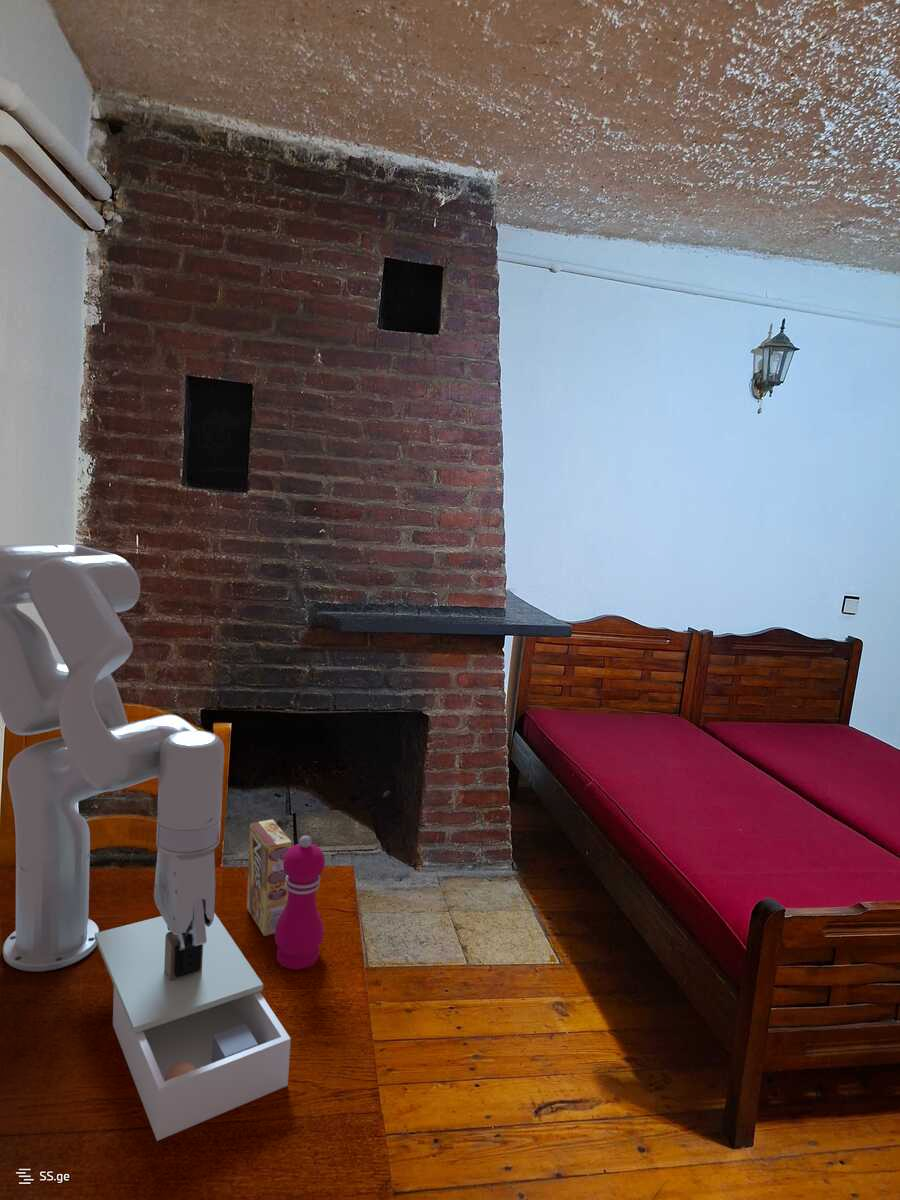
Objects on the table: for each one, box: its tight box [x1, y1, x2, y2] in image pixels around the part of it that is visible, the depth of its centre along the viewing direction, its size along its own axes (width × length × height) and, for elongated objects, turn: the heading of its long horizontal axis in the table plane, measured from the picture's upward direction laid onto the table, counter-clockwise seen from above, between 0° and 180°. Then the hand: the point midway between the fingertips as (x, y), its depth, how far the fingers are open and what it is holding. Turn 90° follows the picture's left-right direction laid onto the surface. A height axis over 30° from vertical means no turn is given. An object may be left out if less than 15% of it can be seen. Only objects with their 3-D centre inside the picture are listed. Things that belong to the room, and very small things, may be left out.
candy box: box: [246, 819, 293, 937], centre depth 123 cm, size 9×4×15 cm, turn 33°
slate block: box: [212, 1024, 258, 1063], centre depth 92 cm, size 4×4×4 cm
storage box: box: [112, 986, 292, 1142], centre depth 93 cm, size 20×15×7 cm
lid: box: [95, 912, 264, 1033], centre depth 100 cm, size 21×16×6 cm
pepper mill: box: [273, 835, 326, 970], centre depth 113 cm, size 7×7×20 cm
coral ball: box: [165, 1061, 196, 1081], centre depth 88 cm, size 4×4×4 cm
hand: (183, 964), depth 98 cm, fingers closed on lid, 2 cm apart
